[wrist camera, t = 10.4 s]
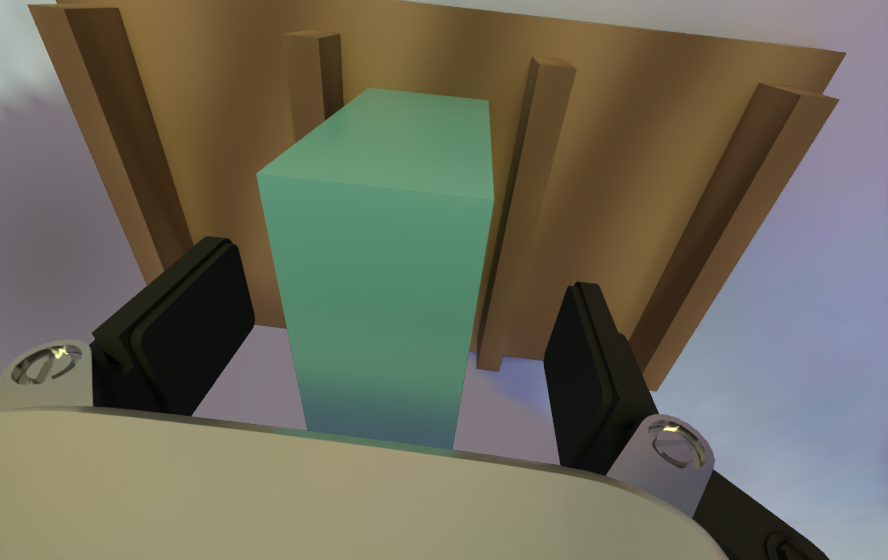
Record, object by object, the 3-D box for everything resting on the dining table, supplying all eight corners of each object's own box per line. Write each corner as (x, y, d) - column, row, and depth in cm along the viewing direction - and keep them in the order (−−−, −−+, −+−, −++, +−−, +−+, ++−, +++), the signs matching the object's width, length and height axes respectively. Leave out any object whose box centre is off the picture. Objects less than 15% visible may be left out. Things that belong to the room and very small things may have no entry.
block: (488, 100, 13) (494, 199, 7) (460, 309, 18) (447, 481, 12) (368, 87, 13) (255, 173, 7) (374, 299, 18) (314, 464, 12)
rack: (822, 49, 12) (906, 61, 10) (647, 359, 20) (669, 408, 18) (68, -39, 13) (-31, -47, 10) (190, 302, 21) (151, 342, 18)
